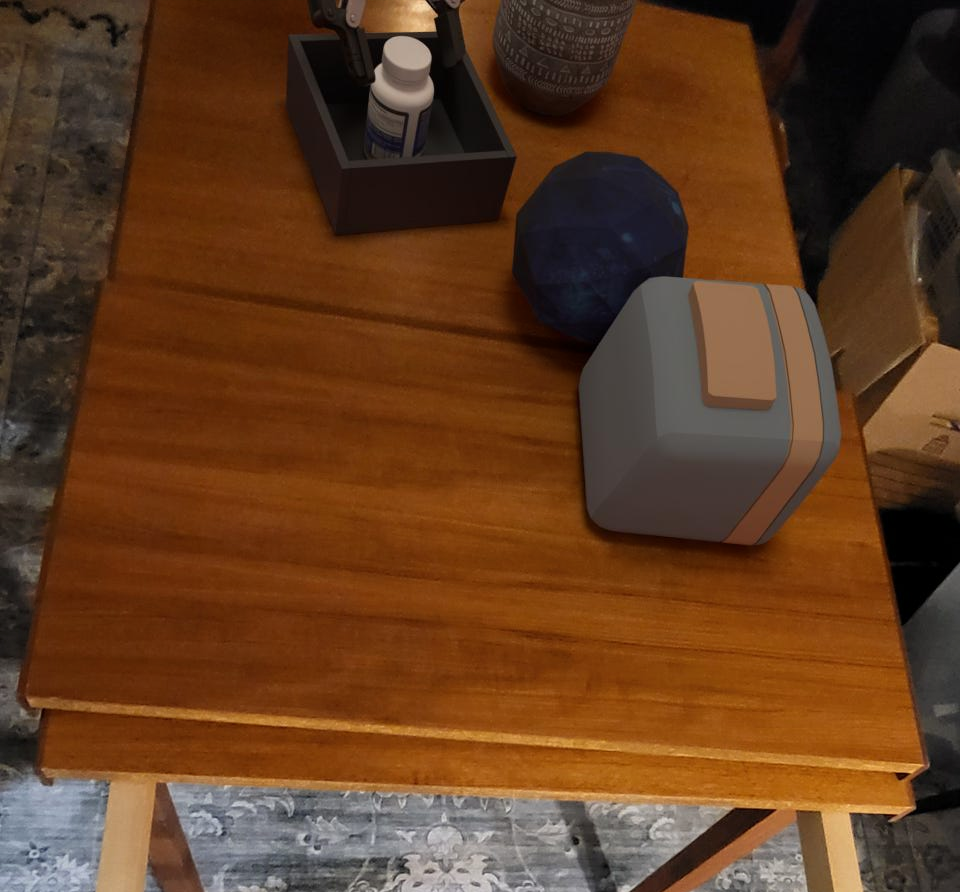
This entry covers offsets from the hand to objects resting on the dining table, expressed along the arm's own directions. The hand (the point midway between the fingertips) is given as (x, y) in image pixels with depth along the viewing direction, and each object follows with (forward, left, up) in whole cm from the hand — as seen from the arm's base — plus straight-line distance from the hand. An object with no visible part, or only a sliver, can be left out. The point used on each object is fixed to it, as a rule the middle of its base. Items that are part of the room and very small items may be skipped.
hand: (411, 75), depth 79 cm
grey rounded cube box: (+13, -35, -9) cm, 39 cm away
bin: (0, +1, -9) cm, 9 cm away
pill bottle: (0, +1, -9) cm, 9 cm away
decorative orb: (+11, -18, -9) cm, 23 cm away
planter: (+19, +10, -9) cm, 23 cm away
